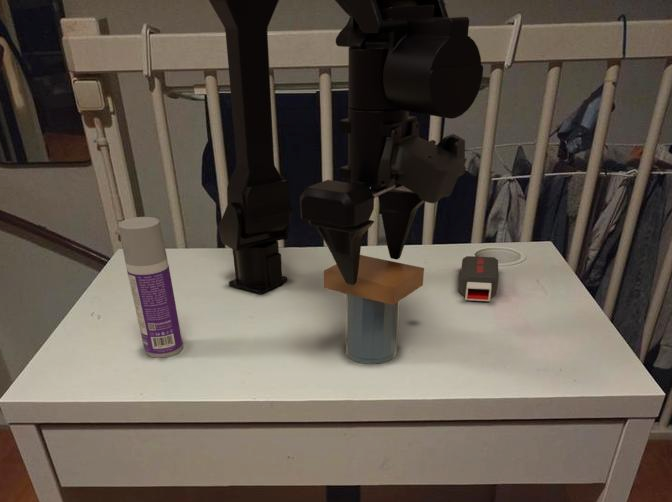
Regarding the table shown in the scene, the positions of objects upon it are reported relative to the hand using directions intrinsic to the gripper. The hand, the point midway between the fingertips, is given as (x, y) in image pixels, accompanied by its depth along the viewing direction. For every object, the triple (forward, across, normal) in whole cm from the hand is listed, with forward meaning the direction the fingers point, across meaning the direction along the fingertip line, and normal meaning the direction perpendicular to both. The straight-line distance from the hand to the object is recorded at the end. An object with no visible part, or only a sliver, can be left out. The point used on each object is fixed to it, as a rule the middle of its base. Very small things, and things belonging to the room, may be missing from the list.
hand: (373, 270), depth 68 cm
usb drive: (+10, +26, -2) cm, 28 cm away
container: (+10, -13, +22) cm, 28 cm away
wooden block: (+2, 0, 0) cm, 2 cm away
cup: (+10, 0, 0) cm, 10 cm away
